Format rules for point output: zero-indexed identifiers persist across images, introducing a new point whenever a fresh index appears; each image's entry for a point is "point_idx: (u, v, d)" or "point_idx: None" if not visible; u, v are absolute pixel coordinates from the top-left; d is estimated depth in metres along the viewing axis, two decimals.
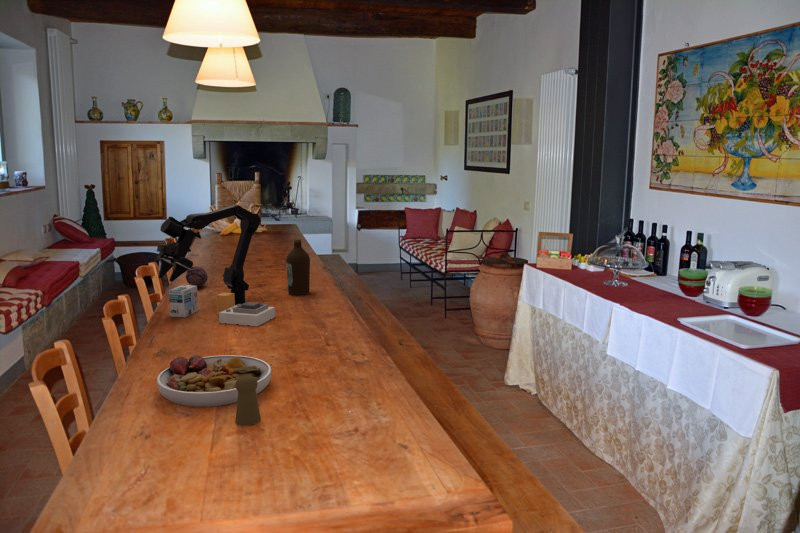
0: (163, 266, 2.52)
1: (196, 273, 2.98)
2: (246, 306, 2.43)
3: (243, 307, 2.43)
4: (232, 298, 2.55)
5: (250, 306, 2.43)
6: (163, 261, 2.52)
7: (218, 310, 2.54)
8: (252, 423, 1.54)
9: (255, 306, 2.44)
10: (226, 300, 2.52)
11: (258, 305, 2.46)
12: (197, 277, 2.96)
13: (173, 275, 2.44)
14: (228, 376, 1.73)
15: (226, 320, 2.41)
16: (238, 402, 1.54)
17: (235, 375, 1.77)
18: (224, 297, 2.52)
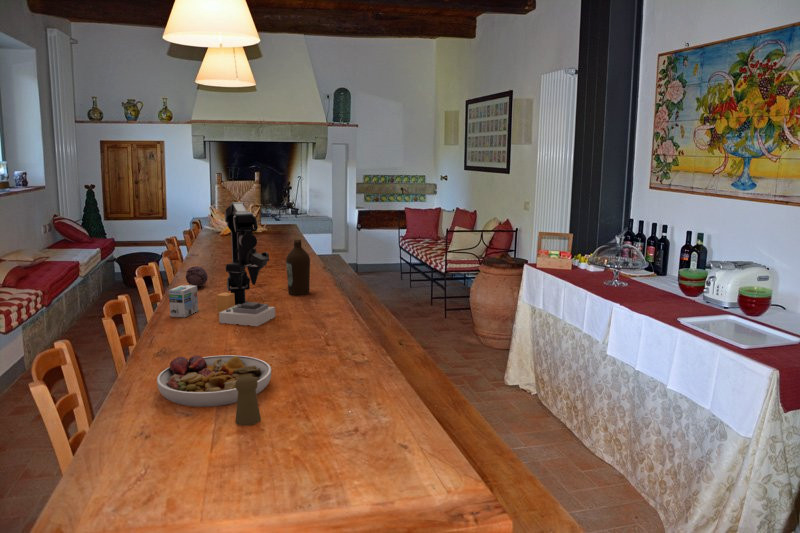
0: None
1: (196, 273, 2.98)
2: (246, 306, 2.43)
3: (243, 307, 2.43)
4: (232, 298, 2.55)
5: (250, 306, 2.43)
6: None
7: (218, 310, 2.54)
8: (252, 423, 1.54)
9: (255, 306, 2.44)
10: (226, 300, 2.52)
11: (258, 305, 2.46)
12: (197, 277, 2.96)
13: None
14: (228, 376, 1.73)
15: (226, 320, 2.41)
16: (238, 402, 1.54)
17: (235, 375, 1.77)
18: (224, 297, 2.52)
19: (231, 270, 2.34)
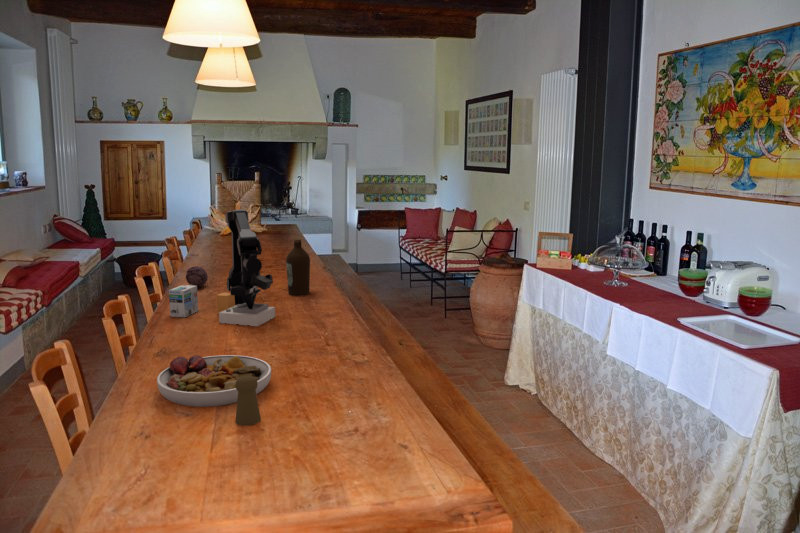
0: None
1: (196, 273, 2.98)
2: None
3: None
4: (232, 298, 2.55)
5: None
6: None
7: (218, 310, 2.54)
8: (252, 423, 1.54)
9: None
10: (226, 300, 2.52)
11: None
12: (197, 277, 2.96)
13: None
14: (228, 376, 1.73)
15: (226, 320, 2.41)
16: (238, 402, 1.54)
17: (235, 375, 1.77)
18: (224, 297, 2.52)
19: (236, 293, 2.35)
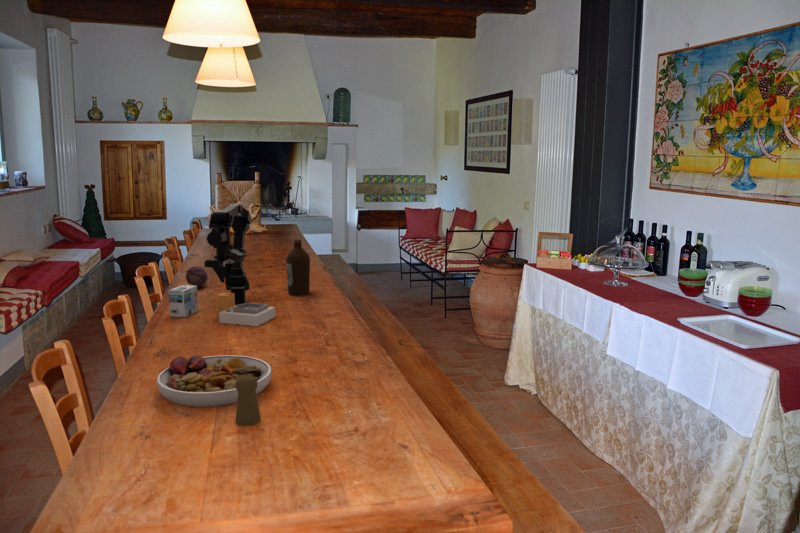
0: None
1: (196, 273, 2.98)
2: None
3: None
4: (232, 298, 2.55)
5: None
6: None
7: (218, 310, 2.54)
8: (252, 423, 1.54)
9: None
10: (226, 300, 2.52)
11: None
12: (197, 277, 2.96)
13: None
14: (228, 376, 1.73)
15: (226, 320, 2.41)
16: (238, 402, 1.54)
17: (235, 375, 1.77)
18: (224, 297, 2.52)
19: (210, 266, 2.44)
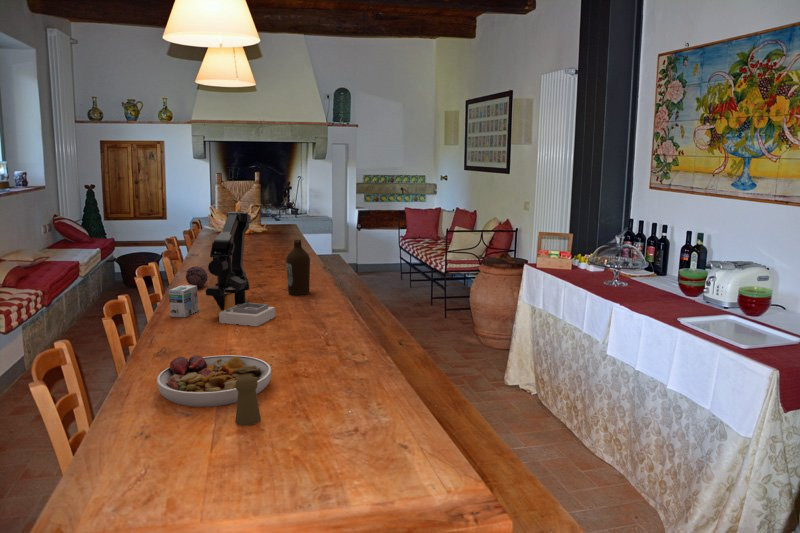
0: None
1: (196, 273, 2.98)
2: None
3: None
4: (232, 298, 2.55)
5: None
6: None
7: (218, 310, 2.54)
8: (252, 423, 1.54)
9: None
10: (226, 300, 2.52)
11: None
12: (197, 277, 2.96)
13: None
14: (228, 376, 1.73)
15: (226, 320, 2.41)
16: (238, 402, 1.54)
17: (235, 375, 1.77)
18: None
19: (211, 294, 2.46)
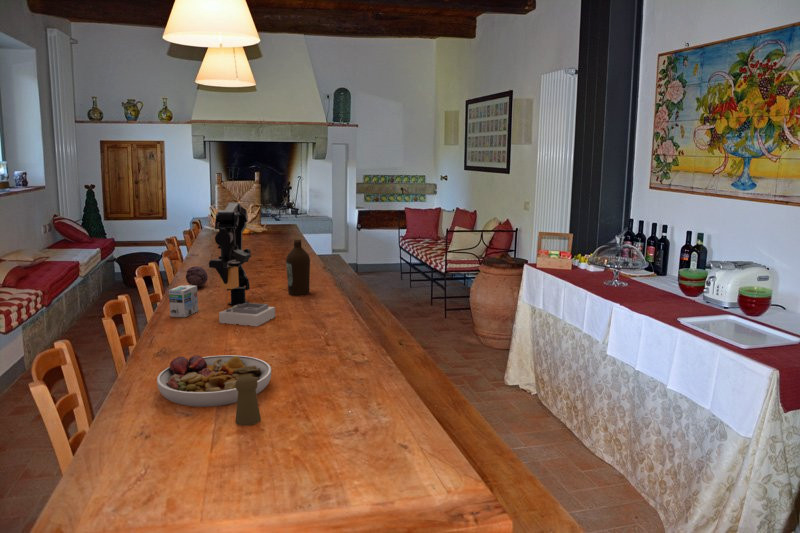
0: None
1: (196, 273, 2.98)
2: None
3: None
4: (236, 271, 2.51)
5: None
6: None
7: (221, 283, 2.50)
8: (252, 423, 1.54)
9: None
10: (229, 273, 2.48)
11: None
12: (197, 277, 2.96)
13: None
14: (228, 376, 1.73)
15: (226, 320, 2.41)
16: (238, 402, 1.54)
17: (235, 375, 1.77)
18: None
19: (214, 266, 2.41)
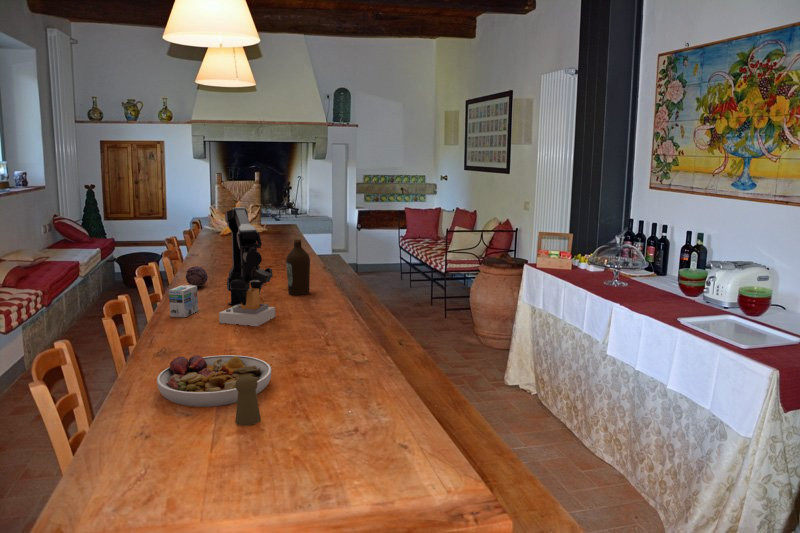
0: None
1: (196, 273, 2.98)
2: None
3: None
4: (257, 293, 2.45)
5: None
6: None
7: (242, 306, 2.44)
8: (252, 423, 1.54)
9: None
10: (251, 296, 2.42)
11: None
12: (197, 277, 2.96)
13: None
14: (228, 376, 1.73)
15: (226, 320, 2.41)
16: (238, 402, 1.54)
17: (235, 375, 1.77)
18: (249, 292, 2.42)
19: (236, 287, 2.35)
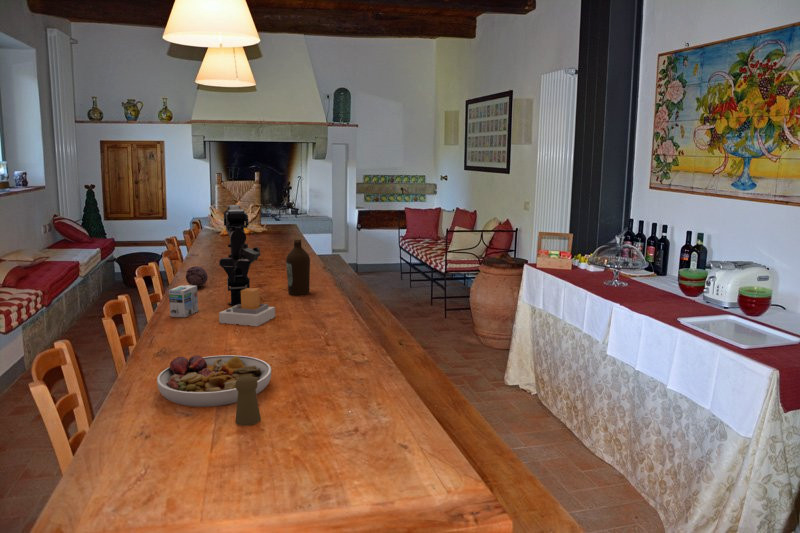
0: None
1: (196, 273, 2.98)
2: None
3: None
4: (257, 293, 2.45)
5: None
6: None
7: (242, 306, 2.44)
8: (252, 423, 1.54)
9: None
10: (251, 296, 2.42)
11: None
12: (197, 277, 2.96)
13: None
14: (228, 376, 1.73)
15: (226, 320, 2.41)
16: (238, 402, 1.54)
17: (235, 375, 1.77)
18: (249, 292, 2.42)
19: (225, 264, 2.46)
